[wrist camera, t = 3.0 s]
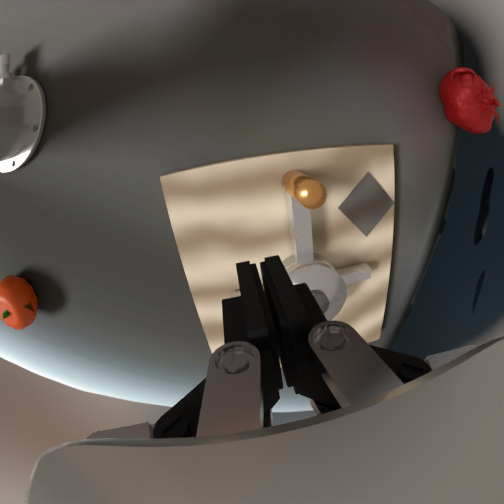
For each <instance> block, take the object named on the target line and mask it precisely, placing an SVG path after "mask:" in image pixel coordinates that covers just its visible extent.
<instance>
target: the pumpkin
mask: <svg viewBox="0 0 504 504" xmlns="http://www.w3.org/2000/svg"><path fill="white" fill-rule="evenodd" d="M37 302H38V299H37V296H36V295H35V293H34V290H33V287H32V286H31V285H30V284H28V283H27V281H26V280H25V279H24V278H20V277H17V276H14V275H10V276H7V277H6V278H4V279H3V280H2V281H1V282H0V319H2V320H3V321H4V322H5V323H6V324H7V326H10V327H13V328H15V329H17V330H21V329H23V328H25V327H27V326H29V325H30V324H32V323H33V321H34V320H35V318H36V313H37Z"/></svg>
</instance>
